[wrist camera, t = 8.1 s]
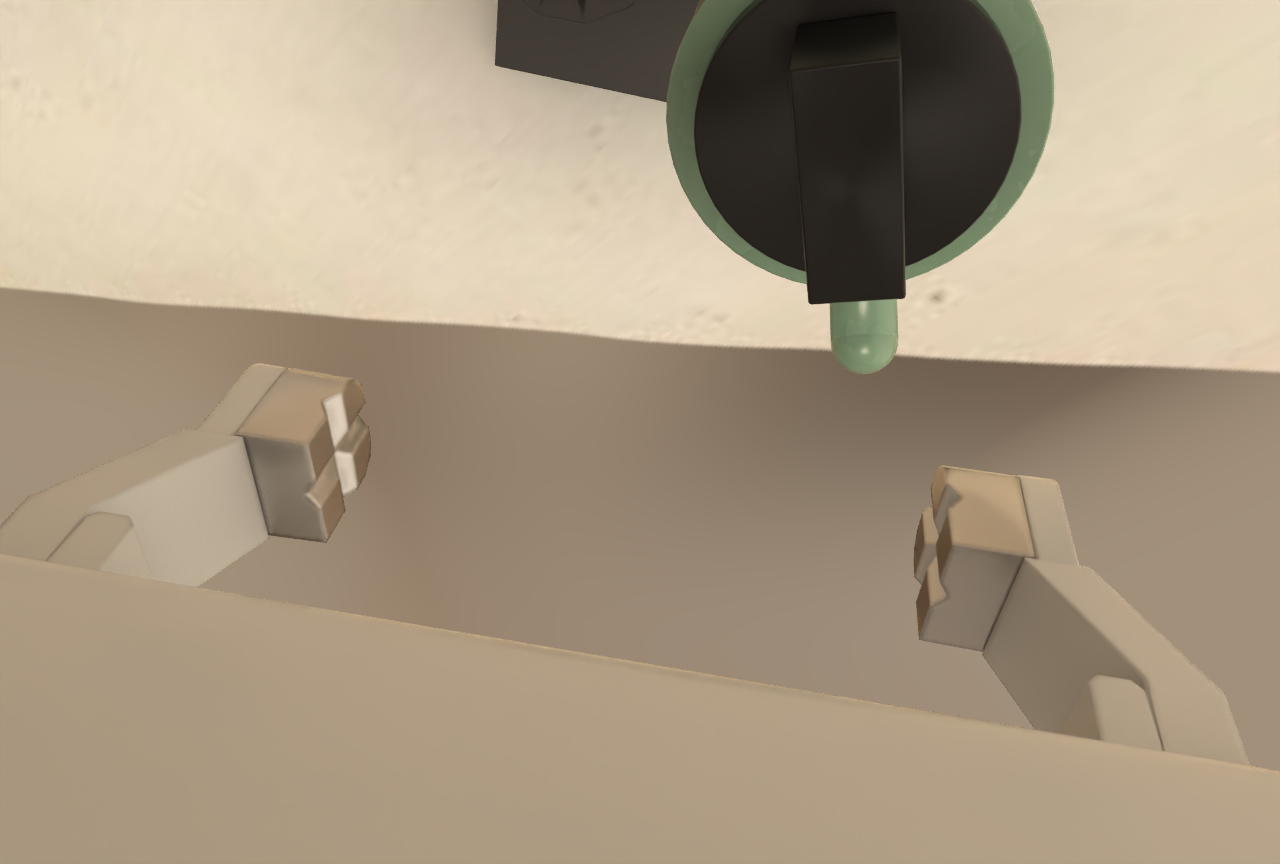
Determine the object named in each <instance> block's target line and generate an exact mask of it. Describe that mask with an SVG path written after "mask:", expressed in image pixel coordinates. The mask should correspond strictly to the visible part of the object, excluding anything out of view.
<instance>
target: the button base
mask: <svg viewBox="0 0 1280 864" xmlns="http://www.w3.org/2000/svg"><path fill="white" fill-rule="evenodd" d="M699 1H700V0H498V16H497V35H496V55H495V65H496V66H500V67H504V68H509V69H514V70H518V71H523V72H528V73H532V74H537V75H542V76H547V77H551V78H556V79H561V80H565V81H570V82H575V83H579V84H584V85H589V86H593V87H598V88H603V89H608V90H612V91H617V92H622V93H626V94H631V95H636V96H640V97H645V98H650V99H655V100H659V101H664V102H667V94H668V88H669V82H670V77H671V71H672V68H673V65H674V62H675V58H676V55H677V52H678V49H679V46H680V44H681V42H682V40H683V37H684V35H685V33H686V31H687V28H688V26H689V24H690V22H691V19H692V17H693V15H694V13H695V10H696V8H697V6H698V3H699Z"/></svg>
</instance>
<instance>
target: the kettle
mask: <svg viewBox="0 0 1280 864" xmlns="http://www.w3.org/2000/svg"><path fill="white" fill-rule="evenodd" d="M1053 105H1054V74H1053V67H1052V60H1051V52H1050V49H1049V45H1048V42H1047V39H1046V35H1045V32H1044V29H1043V26H1042V24H1041V22H1040V19H1039V17H1038V15H1037V13H1036V11H1035V9H1034V6H1033V4H1032V2H1031V0H700V1H699V3H698V6H697V8H696V10H695V13H694V15H693V17H692V19H691V22H690V24H689V26H688V28H687V31H686V33H685V35H684V37H683V40H682V42H681V44H680V46H679V49H678V52H677V55H676V58H675V62H674V65H673V68H672V71H671V77H670V82H669V88H668V94H667V114H666V122H667V133H668V143H669V147H670V152H671V156H672V160H673V165H674V167H675V170H676V173H677V175H678V178H679V181H680V183H681V186H682V188H683V190H684V192H685V193H686V195H687V197H688V199H689V201H690V203H691V205H692V206H693V208H694V209H695V210H696V212H697V213H698V215H699V216H700V217H701V219H702V220H703V222H704V223H705V224H706V225H707V226H708V227H709V228H710V230H711V231H712V232H713V233H714V234H715V235H716V236H717V237H718V238H719V239H720V240H721V241H722V242H723V243H725V244H726V245H727V246H728V247H729V248H731V249H732V250H733V251H734V252H735V253H737V254H738V255H740V256H741V257H743V258H745V259H746V260H748V261H749V262H751V263H752V264H754V265H756V266H758V267H760V268H762V269H764V270H766V271H768V272H770V273H772V274H775V275H778V276H780V277H783V278H786V279H789V280H792V281H795V282H800V283H804V284H807V291H808V302H809V303H810V304H825V303H830V329H831V348H832V352H833V354H834V356H835V358H836V360H837V361H838V362H839V363H840V364H841V365H842V366H843V367H844V368H846V369H847V370H849V371H851V372H854V373H859V374H870V373H873V372H877V371H879V370H881V369H882V368H884V367H885V366H886V365H888V364H889V362H890V361H891V360H892V359H893V357H894V355H895V353H896V350H897V346H898V320H897V299H903V298H905V296H906V281H905V280H907V279H909V278H912V277H915V276H918V275H921V274H924V273H926V272H929V271H931V270H933V269H935V268H937V267H939V266H941V265H943V264H945V263H947V262H949V261H951V260H952V259H954V258H955V257H957V256H959V255H960V254H962V253H963V252H965V251H966V250H968V249H969V248H971V247H972V246H973V245H974V244H976V243H977V242H978V241H979V240H981V239H982V238H983V237H984V236H986V235H987V234H988V233H989V232H990V231H991V230H992V229H993V228H994V227H995V226H996V225H997V224H998V223H999V222H1000V221H1001V220H1002V219H1003V218H1004V217H1005V216H1006V214H1007V213H1008V212H1009V210H1010V209H1011V208H1012V207H1013V205H1014V204H1015V203H1016V201H1017V200H1018V199H1019V198H1020V196H1021V195H1022V193H1023V191H1024V190H1025V188H1026V186H1027V184H1028V183H1029V181H1030V179H1031V178H1032V176H1033V174H1034V172H1035V170H1036V167H1037V165H1038V163H1039V160H1040V158H1041V156H1042V154H1043V151H1044V147H1045V144H1046V141H1047V137H1048V134H1049V130H1050V126H1051V119H1052V112H1053Z"/></svg>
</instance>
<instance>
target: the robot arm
mask: <svg viewBox="0 0 1280 864" xmlns="http://www.w3.org/2000/svg"><path fill="white" fill-rule="evenodd" d="M364 404H365V400H364V394H363V389H362V384H361V383H359V382H358V381H357V380H356V379H353V378H346V377H341V376H335V375H329V374H323V373H317V372H311V371H305V370H300V369H294V368H290V369H288V368H285V367H278V366H272V365H266V364H261V363H258V364H255V365H252V366H249V367H248V368H247V370H246V371H245V372H244V373H243V374H242V376H241V377H240V378H239V380H237V382H236V383H235V384H234V385H233V387H232V388H231V389H230V390H229V391H228V393H227V394H226V395H225V396H224V397H223V399H222V400H221V401H220V402H219V403H218V405H217V406H216V407H215V408H214V409H213V411H212V412H211V413H210V414H209V415H208V417H207V418H206V419H205V420H204V422H203V423H202V424H201V425H200V426H199V427H198V429H197V430H194V429H188V428H186V429H184V430H182V431H179V432H177V433H175V434H173V435H170V436H168V437H166V438H163V439H161V440H159V441H156V442H154V443H152V444H150V445H147V446H145V447H142V448H140V449H138V450H135V451H133V452H131V453H128V454H126V455H124V456H121V457H119V458H117V459H114V460H112V461H110V462H107V463H105V464H103V465H101V466H98V467H96V468H94V469H91V470H89V471H87V472H84V473H82V474H80V475H77V476H75V477H73V478H70V479H68V480H66V481H63V482H61V483H59V484H57V485H54V486H52V487H49V488H48V489H45V490H42V491H40V492H38V493H36V494H33V495H31V496H29V497H27V498H26V499H25V501H23V502H22V503H21V504H20V505H19V507H18V508H17V509H16V510H15V511H14V512H13V513H12V514H11V515H10V516H9V517H8V518H7V519H6V520H5V521H4V522H3V523H2V524H1V525H0V864H1280V771H1277V770H1272V769H1265V768H1259V767H1253V766H1250V764H1249V762H1248V759H1247V756H1246V753H1245V750H1244V747H1243V744H1242V742H1241V739H1240V736H1239V733H1238V730H1237V727H1236V724H1235V722H1234V719H1233V716H1232V713H1231V710H1230V707H1229V705H1228V702H1227V699H1226V696H1225V694H1224V693H1223V692H1222V691H1221V690H1220V689H1219V688H1218V687H1217V686H1216V685H1215V684H1214V683H1213V682H1212V681H1211V680H1210V679H1209V678H1207V677H1206V676H1205V675H1204V674H1203V673H1202V672H1201V671H1200V670H1199V669H1198V668H1197V667H1196V666H1195V665H1194V664H1192V663H1191V662H1190V661H1189V660H1188V659H1187V658H1186V657H1185V656H1184V655H1183V654H1182V653H1181V652H1180V651H1179V650H1178V649H1177V648H1175V647H1174V646H1173V645H1172V644H1171V643H1170V642H1169V641H1168V640H1167V639H1166V638H1165V637H1164V636H1163V635H1162V634H1161V633H1160V632H1158V631H1157V630H1156V629H1155V628H1154V627H1153V626H1152V625H1151V624H1150V623H1149V622H1148V621H1147V620H1146V619H1145V618H1144V617H1142V616H1141V615H1140V614H1139V613H1138V612H1137V611H1136V610H1135V609H1134V608H1133V607H1132V606H1131V605H1129V603H1128V602H1126V601H1125V600H1124V599H1123V598H1122V597H1121V596H1120V595H1119V594H1118V593H1117V592H1116V591H1115V590H1114V589H1113V588H1112V587H1110V586H1109V585H1108V584H1107V583H1106V582H1105V581H1104V580H1103V579H1102V578H1101V577H1100V576H1099V575H1098V574H1097V573H1095V572H1094V571H1093V570H1092V569H1091V568H1090V567H1084V566H1079V563H1078V559H1077V555H1076V551H1075V547H1074V543H1073V539H1072V535H1071V531H1070V527H1069V523H1068V519H1067V516H1066V512H1065V507H1064V504H1063V500H1062V496H1061V492H1060V488H1059V485H1058V483H1057V482H1056V481H1055V480H1054V479H1046V478H1037V477H1029V476H1022V475H1015V476H1013V475H1007V474H999V473H992V472H985V471H978V470H971V469H964V468H957V467H949V466H943V465H940V466H939V468H938V470H937V471H936V473H935V476H934V479H933V482H932V485H931V495H932V505H931V506H930V507H928V508H927V509H925V510H924V511H923V512H922V516H921V519H920V523H919V526H918V529H917V535H916V541H915V547H914V577H915V578H916V579H917V581H918V582H919V583H920V584H921V585H922V586H921V589H920V592H919V595H918V598H917V601H916V608H917V620H918V634H919V640H923V641H929V642H934V643H939V644H944V645H949V646H955V647H960V648H965V649H971V650H976V651H981V652H983V654H982V655H983V656H984V658H985V659H986V661H987V662H988V664H989V665H990V667H991V668H992V669H993V671H994V672H995V674H996V675H997V676H998V678H999V679H1000V681H1001V682H1002V683H1003V685H1004V686H1005V688H1006V689H1007V691H1008V692H1009V693H1010V695H1011V696H1012V698H1013V699H1014V700H1015V702H1016V703H1017V705H1018V706H1019V708H1020V709H1021V710H1022V712H1023V713H1024V715H1025V716H1026V717H1027V719H1028V720H1029V722H1030V723H1031V724H1032V726H1033V727H1034V729H1030V728H1024V727H1018V726H1012V725H1006V724H1001V723H994V722H989V721H983V720H977V719H971V718H965V717H959V716H953V715H947V714H942V713H935V712H929V711H923V710H917V709H911V708H905V707H899V706H893V705H887V704H881V703H875V702H869V701H863V700H858V699H852V698H845V697H839V696H834V695H828V694H822V693H817V692H811V691H805V690H799V689H793V688H787V687H781V686H776V685H770V684H764V683H758V682H752V681H746V680H740V679H735V678H729V677H723V676H717V675H711V674H705V673H700V672H694V671H688V670H682V669H676V668H671V667H664V666H659V665H653V664H647V663H641V662H635V661H629V660H623V659H617V658H612V657H606V656H600V655H594V654H588V653H581V652H576V651H570V650H564V649H558V648H552V647H546V646H540V645H534V644H528V643H523V642H517V641H511V640H505V639H499V638H493V637H486V636H481V635H475V634H468V633H463V632H457V631H451V630H445V629H439V628H434V627H428V626H421V625H416V624H410V623H404V622H398V621H392V620H386V619H381V618H375V617H369V616H363V615H357V614H351V613H345V612H339V611H334V610H328V609H322V608H316V607H310V606H304V605H298V604H292V603H286V602H280V601H275V600H269V599H263V598H257V597H251V596H245V595H239V594H234V593H228V592H221V591H216V590H210V589H204V588H198V586H199V585H201V584H202V583H204V582H205V581H207V580H208V579H210V578H211V577H213V576H214V575H216V574H217V573H219V572H220V571H221V570H223V569H224V568H226V567H227V566H229V565H230V564H232V563H233V562H235V561H236V560H237V559H239V558H241V557H242V556H244V555H245V554H247V553H248V552H250V551H251V550H252V549H254V548H255V547H257V546H258V545H260V544H261V543H263V542H264V541H266V540H267V539H269V535H271V536H279V537H286V538H293V539H302V540H309V541H316V542H324V543H327V541H328V539H329V538H330V536H331V534H332V533H333V531H334V529H335V527H336V526H337V524H338V522H339V521H340V519H341V517H342V516H343V514H344V512H345V506H344V501H343V497H345V496H346V495H348V494H350V493H352V492H354V491H355V490H357V489H358V488H359V486H360V484H361V482H362V480H363V479H364V477H365V475H366V471H367V467H368V463H369V460H370V451H371V439H370V431H369V427H368V426H367V424H366V423H365V422H364V421H363V420H362V419H361V418H360V417H359V415H358V414H359V412H360V410H361V409H362V407H363V406H364Z"/></svg>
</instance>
